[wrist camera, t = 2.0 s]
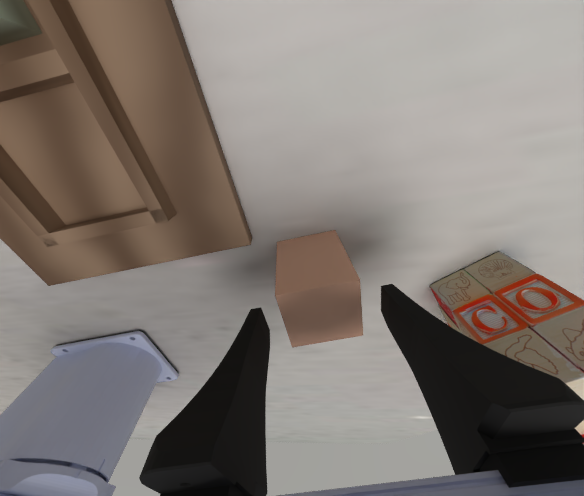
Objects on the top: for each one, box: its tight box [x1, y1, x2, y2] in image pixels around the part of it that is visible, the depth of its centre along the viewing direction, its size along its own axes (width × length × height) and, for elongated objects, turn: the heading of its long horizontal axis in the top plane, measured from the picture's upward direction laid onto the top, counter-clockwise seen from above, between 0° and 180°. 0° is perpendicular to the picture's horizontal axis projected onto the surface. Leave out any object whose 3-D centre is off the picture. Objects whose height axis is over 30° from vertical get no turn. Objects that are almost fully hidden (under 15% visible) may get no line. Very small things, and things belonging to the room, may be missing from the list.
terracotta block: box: [275, 230, 363, 347], centre depth 15 cm, size 4×4×6 cm
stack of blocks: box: [430, 251, 584, 445], centre depth 18 cm, size 21×6×12 cm, turn 36°
